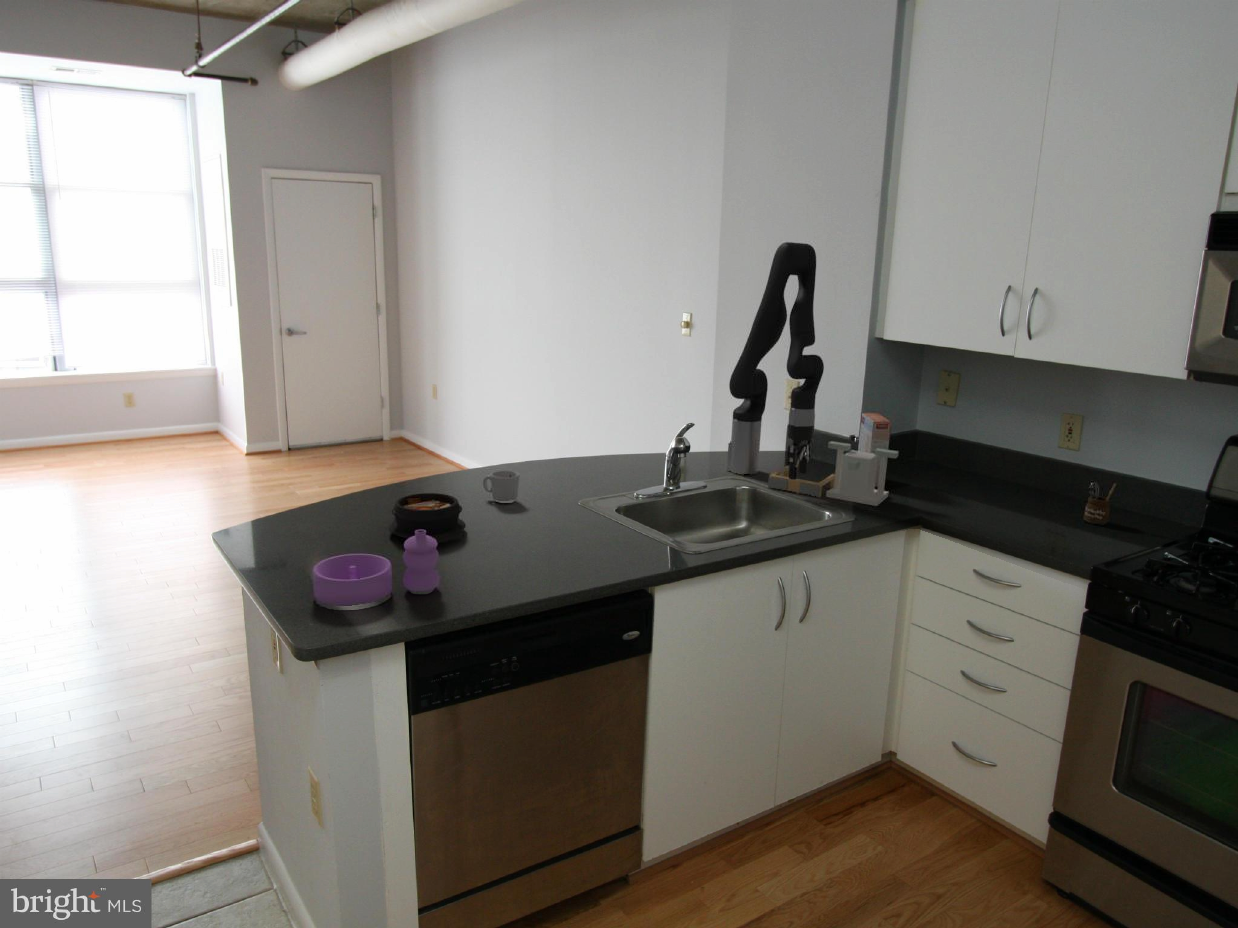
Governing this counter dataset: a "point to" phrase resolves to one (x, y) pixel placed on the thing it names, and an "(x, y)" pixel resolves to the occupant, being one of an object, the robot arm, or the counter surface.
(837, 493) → the display stand
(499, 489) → the cup
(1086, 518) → the utensil holder
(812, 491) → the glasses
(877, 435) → the cracker box
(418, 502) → the casserole
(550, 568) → the counter surface
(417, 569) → the container set
